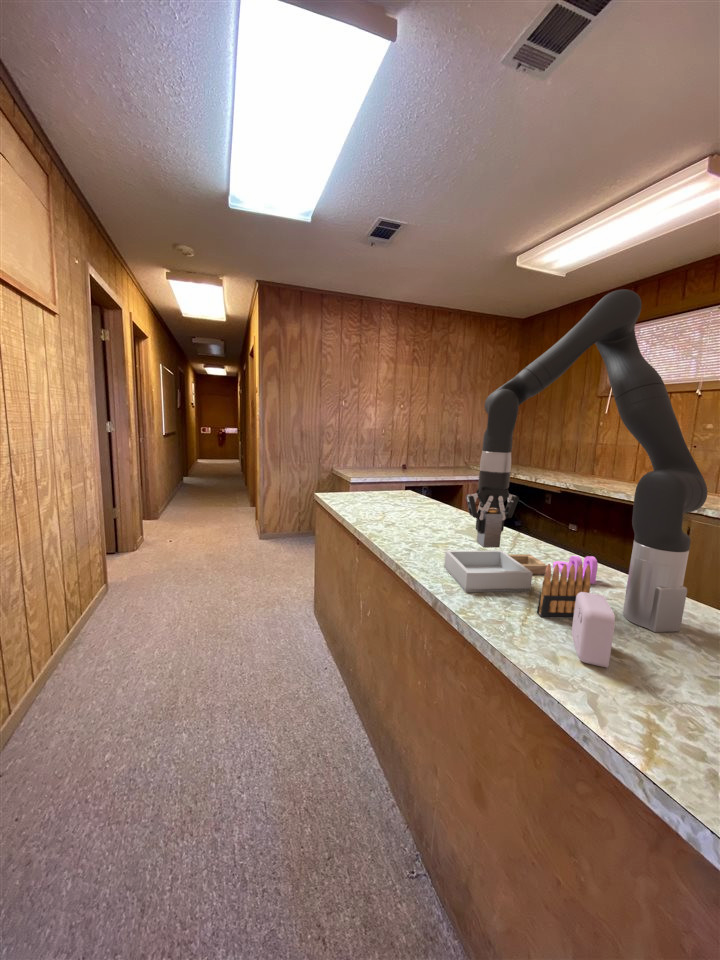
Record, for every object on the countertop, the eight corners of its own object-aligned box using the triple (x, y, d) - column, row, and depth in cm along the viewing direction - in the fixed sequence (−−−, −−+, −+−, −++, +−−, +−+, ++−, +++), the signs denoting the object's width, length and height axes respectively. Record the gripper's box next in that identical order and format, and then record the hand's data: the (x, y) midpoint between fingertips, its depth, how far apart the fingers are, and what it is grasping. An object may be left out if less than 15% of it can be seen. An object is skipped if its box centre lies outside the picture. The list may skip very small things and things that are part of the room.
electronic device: (568, 635, 76) (574, 588, 74) (595, 640, 74) (602, 592, 73) (576, 664, 67) (584, 611, 65) (607, 671, 65) (615, 617, 63)
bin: (530, 591, 95) (532, 572, 94) (465, 592, 93) (467, 573, 93) (500, 566, 111) (501, 550, 110) (444, 567, 109) (445, 550, 108)
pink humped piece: (595, 584, 102) (598, 559, 100) (574, 583, 101) (578, 558, 100) (567, 565, 114) (569, 543, 113) (549, 565, 114) (551, 543, 113)
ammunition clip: (583, 614, 85) (590, 563, 83) (588, 618, 83) (595, 566, 81) (536, 613, 84) (542, 562, 82) (540, 617, 82) (547, 565, 81)
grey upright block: (492, 541, 103) (495, 507, 102) (499, 547, 99) (503, 511, 97) (476, 541, 103) (479, 506, 101) (483, 547, 99) (486, 511, 97)
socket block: (546, 574, 107) (547, 565, 106) (516, 574, 106) (517, 565, 105) (529, 562, 116) (530, 554, 115) (501, 562, 115) (501, 554, 114)
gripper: (513, 467, 102) (507, 529, 105) (462, 466, 101) (457, 528, 103) (528, 471, 95) (521, 537, 97) (474, 470, 93) (468, 537, 96)
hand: (489, 532), depth 100 cm, fingers closed on grey upright block, 4 cm apart
